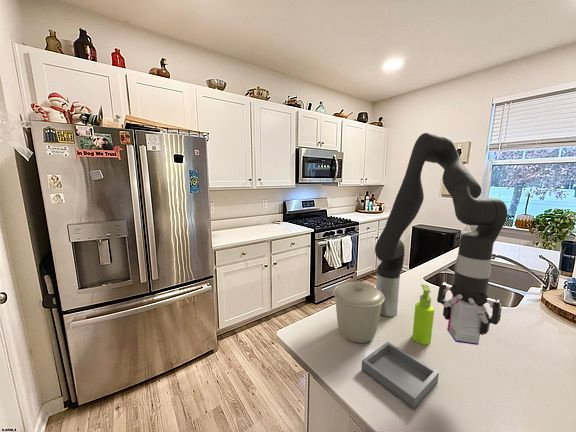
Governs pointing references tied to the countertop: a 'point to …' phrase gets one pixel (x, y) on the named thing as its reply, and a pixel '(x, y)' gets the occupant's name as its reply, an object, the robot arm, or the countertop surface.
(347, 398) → the countertop surface
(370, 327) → the canister
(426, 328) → the soap dispenser
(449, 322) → the supplement box
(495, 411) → the countertop surface
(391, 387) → the tray
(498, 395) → the countertop surface
